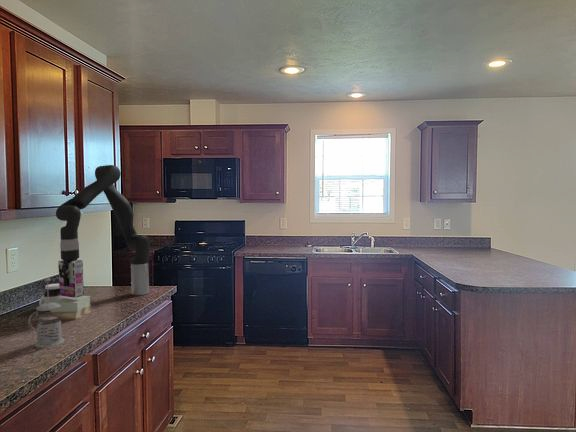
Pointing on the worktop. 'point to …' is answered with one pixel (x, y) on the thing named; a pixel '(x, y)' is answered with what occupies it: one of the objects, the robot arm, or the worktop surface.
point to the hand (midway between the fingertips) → (71, 284)
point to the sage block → (72, 303)
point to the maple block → (73, 313)
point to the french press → (48, 326)
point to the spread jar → (51, 294)
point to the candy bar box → (73, 280)
